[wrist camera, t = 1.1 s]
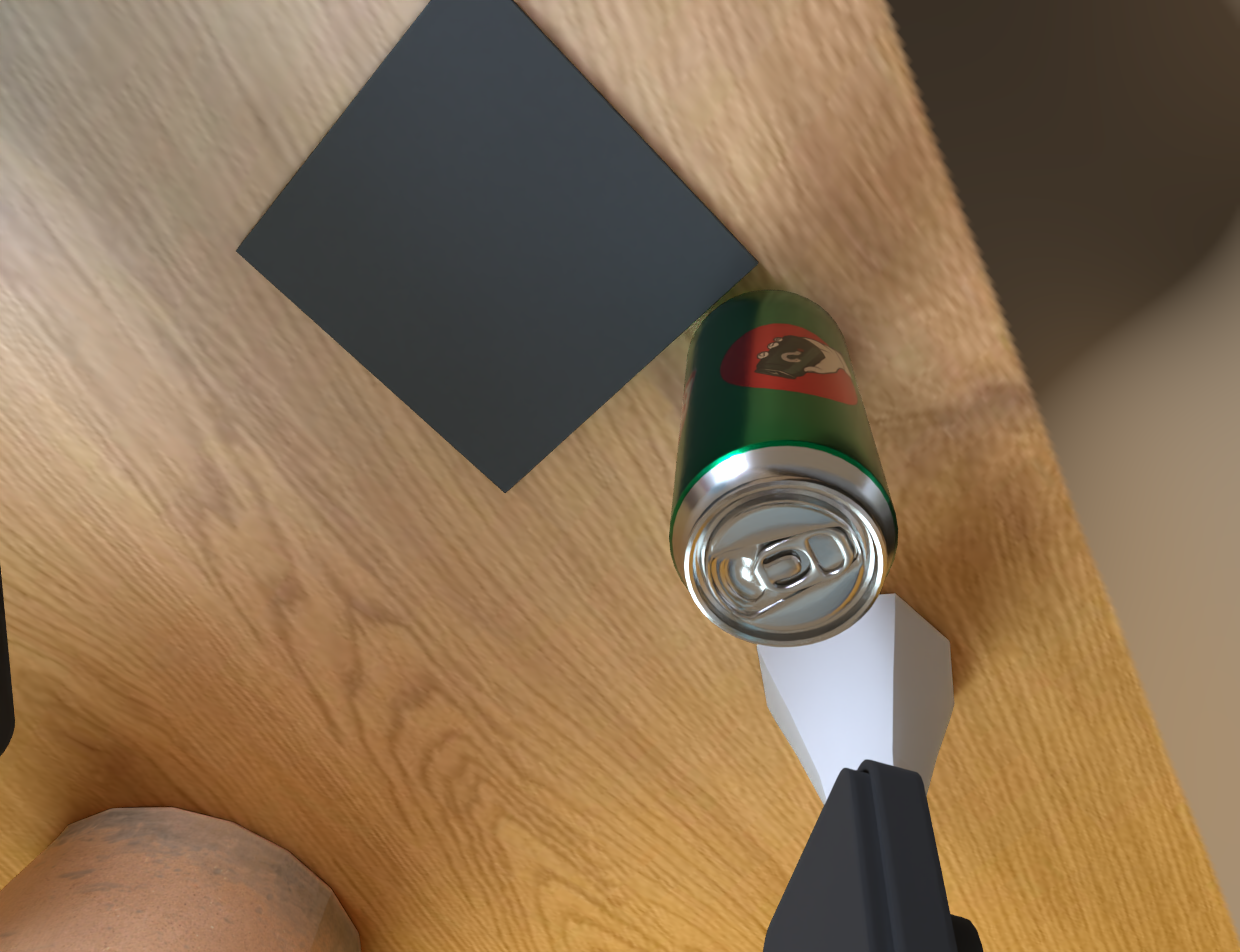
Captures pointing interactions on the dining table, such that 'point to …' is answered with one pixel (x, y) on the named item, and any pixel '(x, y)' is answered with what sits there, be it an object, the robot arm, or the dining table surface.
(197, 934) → the pottery
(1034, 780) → the dining table surface
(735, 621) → the soda can
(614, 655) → the dining table surface
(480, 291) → the mat
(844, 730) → the flask
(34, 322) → the dining table surface
